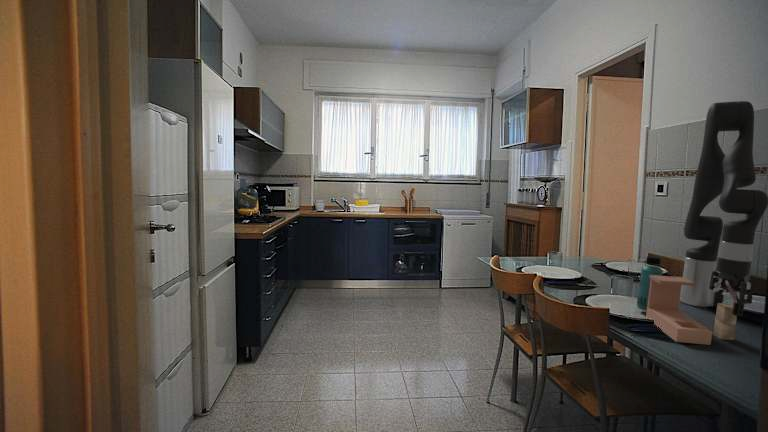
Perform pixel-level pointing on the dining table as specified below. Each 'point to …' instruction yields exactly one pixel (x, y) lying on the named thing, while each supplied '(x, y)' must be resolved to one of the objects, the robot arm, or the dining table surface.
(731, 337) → the peg
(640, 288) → the beverage bottle
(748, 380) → the dining table surface
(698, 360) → the dining table surface
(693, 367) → the dining table surface
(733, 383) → the dining table surface
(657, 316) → the socket stand
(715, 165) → the robot arm
